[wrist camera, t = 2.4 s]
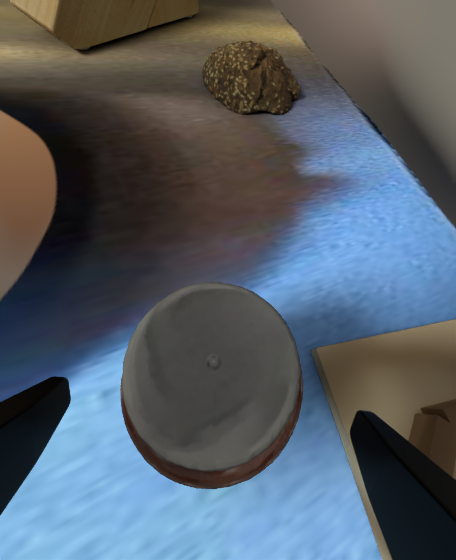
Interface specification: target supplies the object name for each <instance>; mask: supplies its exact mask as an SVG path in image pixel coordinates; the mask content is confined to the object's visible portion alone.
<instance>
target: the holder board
mask: <svg viewBox="0 0 456 560" xmlns="http://www.w3.org/2000/svg"><path fill="white" fill-rule="evenodd" d="M311 353H312V356H313V359H314V362H315V365H316V368H317V371H318V374H319V377H320V379H321V382H322V385H323V388H324V391H325V394H326V397H327V400H328V403H329V406H330V409H331V411H332V414H333V417H334V420H335V423H336V426H337V429H338V432H339V435H340V438H341V441H342V443H343V446H344V449H345V452H346V455H347V458H348V461H349V464H350V467H351V470H352V473H353V475H354V478H355V481H356V484H357V487H358V490H359V493H360V496H361V499H362V502H363V505H364V507H365V510H366V513H367V516H368V519H369V522H370V525H371V528H372V531H373V534H374V537H375V539H376V542H377V545H378V548H379V551H380V554H381V557H382V560H392V558H391V555H390V553H389V550H388V547H387V545H386V542H385V540H384V537H383V535H382V532H381V529H380V527H379V524H378V522H377V519H376V516H375V514H374V511H373V509H372V506H371V503H370V501H369V498H368V495H367V492H366V489H365V485H364V482H363V479H362V475H361V472H360V469H359V465H358V462H357V458H356V455H355V452H354V448H353V445H352V442H351V438H350V428H351V425H352V422H353V419H354V417H355V414H356V412H357V411H358V410H365V411H371V412H373V413H375V414H376V415H377V416H378V417H380V418H381V419H382V420H383V421H384V422H386V423H387V424H388V425H389V426H391V427H392V428H393V429H394V430H395V431H397V432H398V433H399V434H400V435H402V436H403V437H404V438H405V439H406V440H408V441H409V442H410V443H411V444H413V445H414V446H415V447H416V448H417V449H419V450H420V451H421V452H422V453H423V454H425V455H426V456H427V457H428V458H430V459H431V460H432V461H433V462H434V463H436V464H437V465H438V466H439V467H441V468H442V469H443V470H444V471H445V472H447V473H448V474H449V475H450V476H452V477H453V478H454V479H455V480H456V319H454V320H449V321H444V322H439V323H434V324H430V325H425V326H420V327H415V328H410V329H405V330H400V331H396V332H391V333H386V334H381V335H376V336H371V337H366V338H361V339H357V340H352V341H347V342H342V343H337V344H332V345H327V346H323V347H318V348H315V349H313V350H311Z"/></svg>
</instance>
